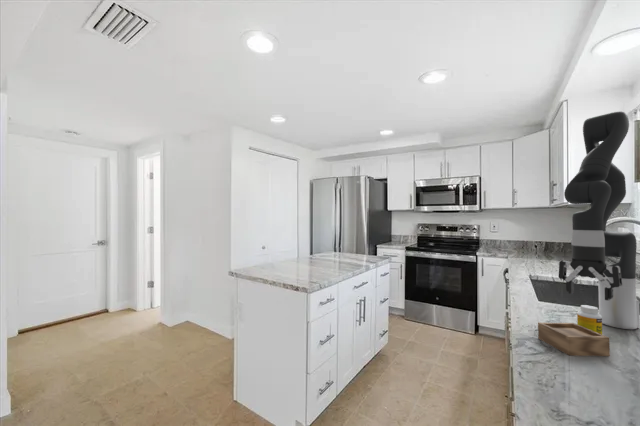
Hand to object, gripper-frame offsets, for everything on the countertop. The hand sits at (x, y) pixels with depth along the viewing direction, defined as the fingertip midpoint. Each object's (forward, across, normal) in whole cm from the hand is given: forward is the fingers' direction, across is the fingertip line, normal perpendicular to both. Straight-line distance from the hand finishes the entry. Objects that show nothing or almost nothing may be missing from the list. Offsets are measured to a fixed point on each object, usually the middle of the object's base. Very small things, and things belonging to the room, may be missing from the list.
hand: (588, 296), depth 87 cm
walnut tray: (+14, +1, +11) cm, 17 cm away
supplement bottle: (+14, 0, 0) cm, 14 cm away
